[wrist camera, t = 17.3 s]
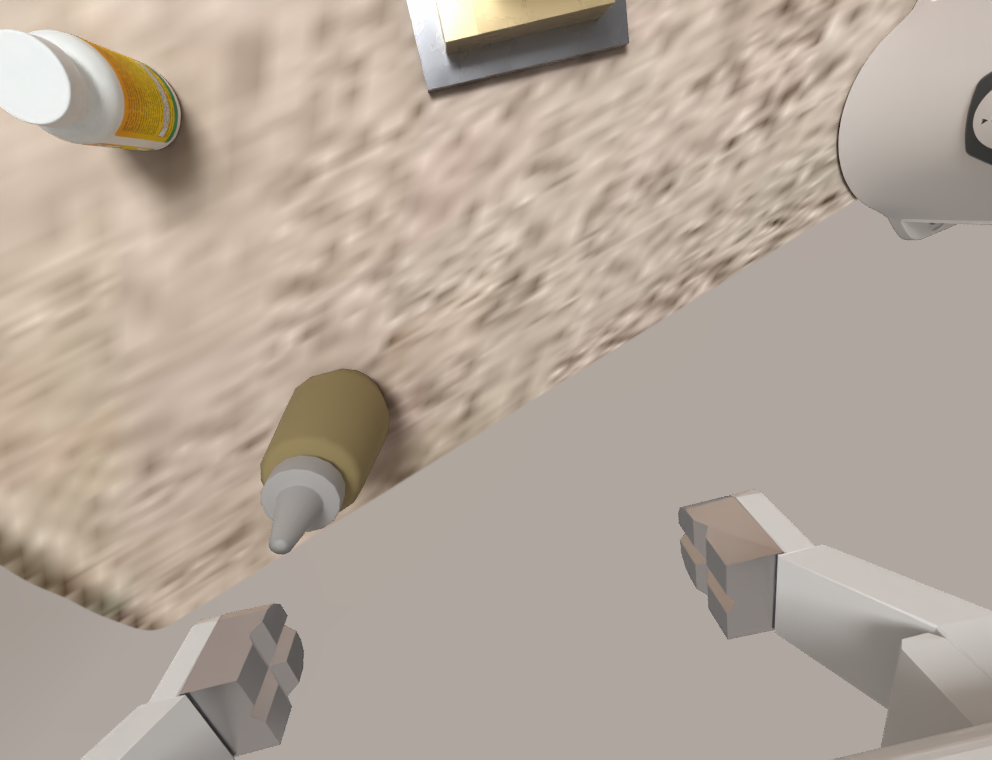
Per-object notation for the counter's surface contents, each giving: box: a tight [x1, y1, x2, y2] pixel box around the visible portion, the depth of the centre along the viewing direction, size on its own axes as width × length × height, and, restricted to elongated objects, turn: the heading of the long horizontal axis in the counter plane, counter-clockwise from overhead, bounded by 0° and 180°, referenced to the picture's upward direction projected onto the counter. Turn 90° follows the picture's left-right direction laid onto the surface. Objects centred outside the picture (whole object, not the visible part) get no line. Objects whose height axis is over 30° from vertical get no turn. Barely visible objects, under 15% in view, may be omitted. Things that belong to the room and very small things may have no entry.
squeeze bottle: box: [261, 369, 390, 554], centre depth 33 cm, size 8×8×18 cm
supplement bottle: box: [0, 30, 181, 151], centre depth 27 cm, size 5×5×10 cm
